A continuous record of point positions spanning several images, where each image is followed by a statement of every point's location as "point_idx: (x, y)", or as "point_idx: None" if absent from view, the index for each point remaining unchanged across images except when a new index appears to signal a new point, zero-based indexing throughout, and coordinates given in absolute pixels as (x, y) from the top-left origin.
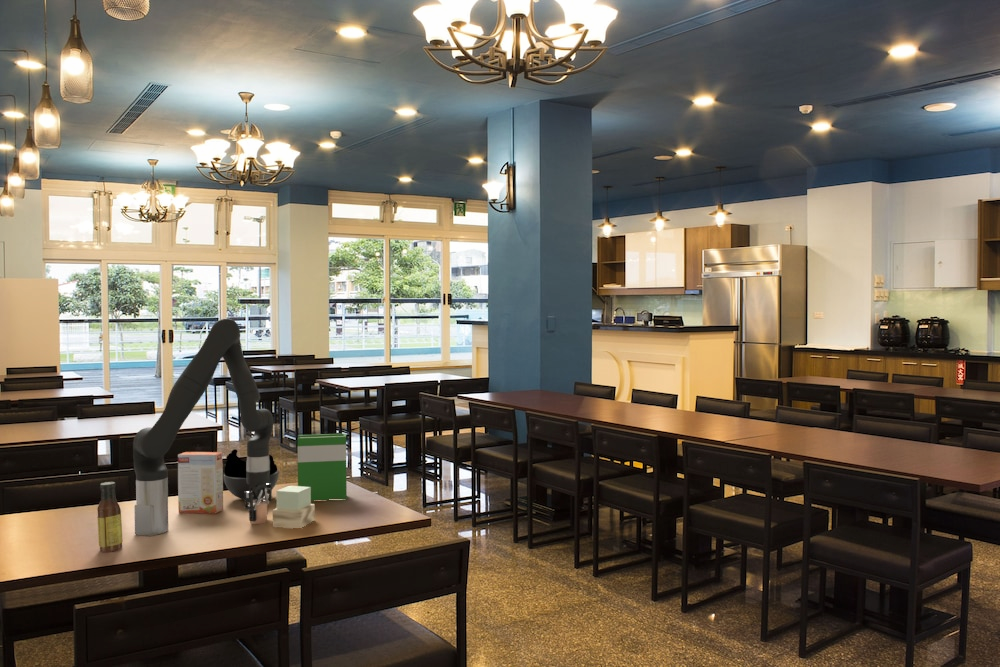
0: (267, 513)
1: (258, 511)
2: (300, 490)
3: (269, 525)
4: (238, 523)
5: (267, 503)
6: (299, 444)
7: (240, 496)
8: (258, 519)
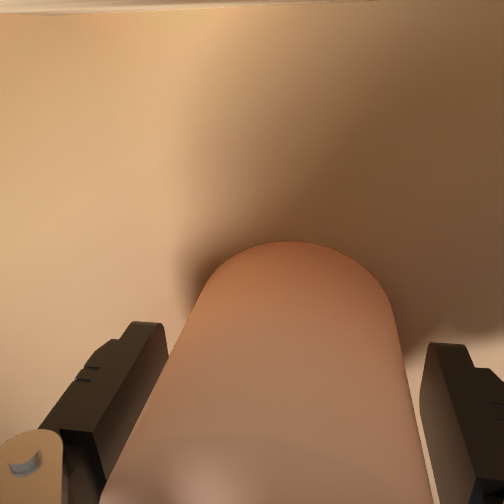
0: (125, 330)
1: (412, 422)
2: None
3: (448, 113)
4: None
5: (48, 446)
6: None
7: None
8: (392, 329)
